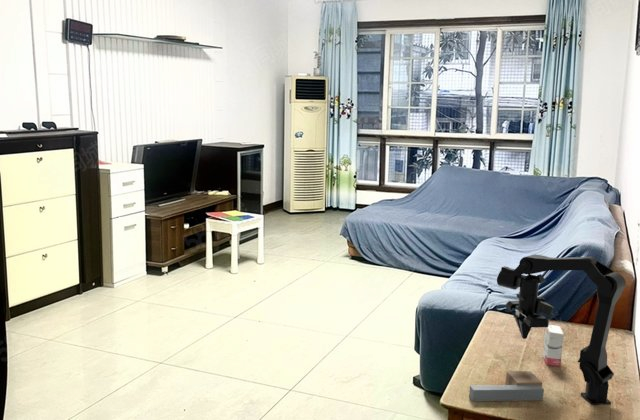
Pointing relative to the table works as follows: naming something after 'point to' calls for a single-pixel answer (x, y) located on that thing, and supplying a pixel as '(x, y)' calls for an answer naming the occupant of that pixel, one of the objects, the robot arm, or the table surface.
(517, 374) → the walnut block
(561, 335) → the ink box
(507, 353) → the table surface
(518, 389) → the grey board
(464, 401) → the table surface
